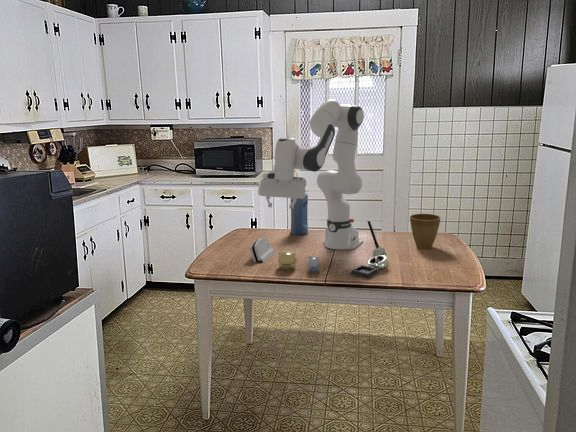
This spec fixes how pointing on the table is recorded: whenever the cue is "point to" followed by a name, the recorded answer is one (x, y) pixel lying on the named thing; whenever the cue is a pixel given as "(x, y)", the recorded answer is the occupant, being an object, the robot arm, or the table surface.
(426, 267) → the table surface
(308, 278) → the table surface
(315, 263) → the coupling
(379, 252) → the butterfly valve
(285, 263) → the cylinder
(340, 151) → the robot arm
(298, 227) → the bottle
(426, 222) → the plant pot
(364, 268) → the flange socket
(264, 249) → the grey bevelled device
